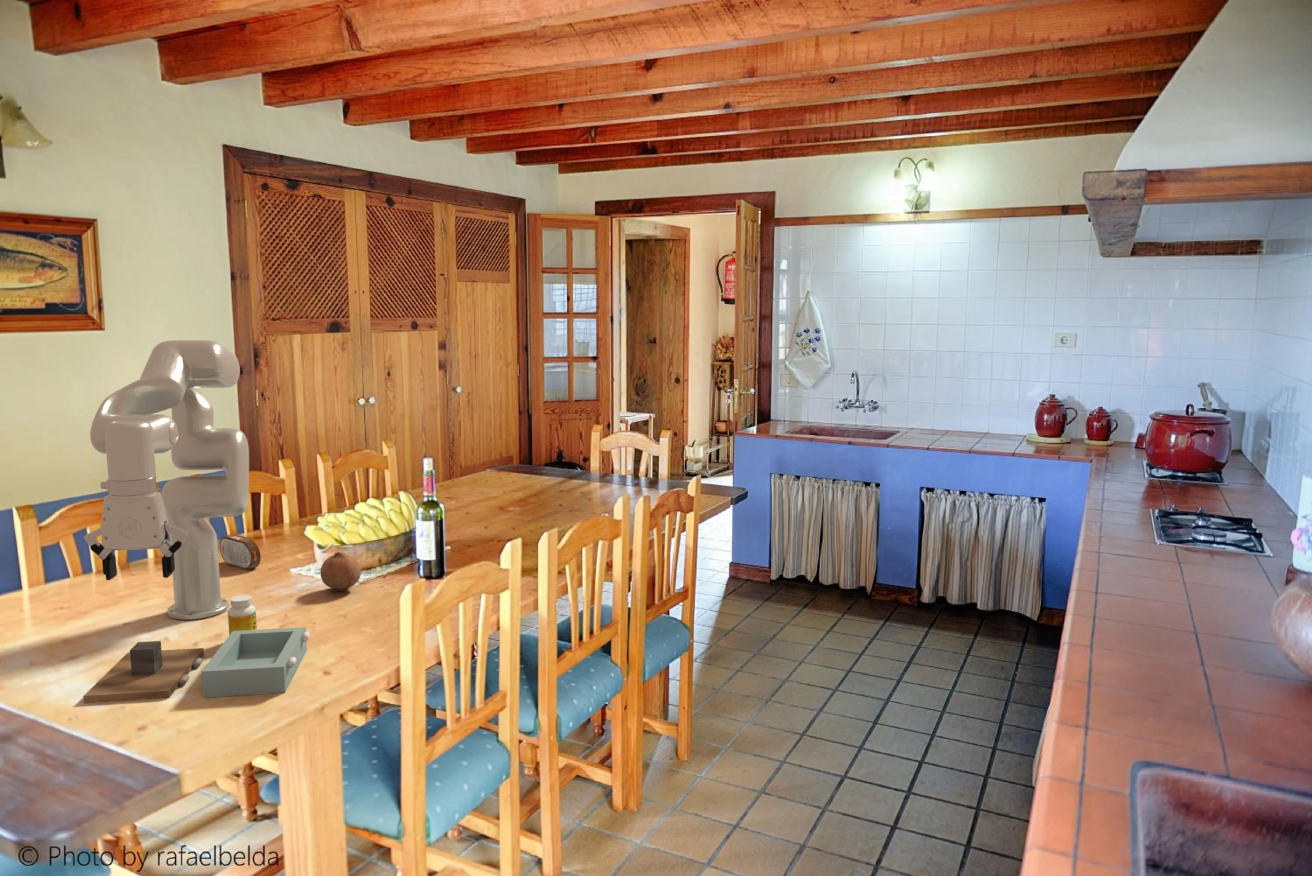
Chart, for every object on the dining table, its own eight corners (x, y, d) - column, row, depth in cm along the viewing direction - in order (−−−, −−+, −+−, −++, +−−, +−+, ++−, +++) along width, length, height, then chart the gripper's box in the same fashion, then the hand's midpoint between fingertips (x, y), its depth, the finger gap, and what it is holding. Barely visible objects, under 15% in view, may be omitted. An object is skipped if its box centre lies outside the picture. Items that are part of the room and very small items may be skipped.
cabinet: (234, 654, 178) (232, 631, 177) (313, 650, 181) (312, 626, 180) (203, 697, 158) (201, 671, 158) (292, 692, 161) (290, 666, 161)
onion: (315, 590, 218) (313, 551, 216) (351, 582, 224) (349, 544, 223) (331, 600, 211) (330, 559, 209) (368, 591, 217) (367, 552, 216)
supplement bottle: (228, 639, 186) (225, 596, 184) (256, 635, 188) (253, 592, 187) (230, 648, 181) (227, 603, 180) (258, 643, 184) (256, 599, 182)
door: (128, 659, 175) (126, 628, 174) (210, 654, 178) (208, 624, 177) (84, 704, 156) (80, 669, 155) (176, 698, 159) (174, 664, 158)
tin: (262, 570, 234) (260, 539, 232) (251, 573, 231) (249, 542, 230) (229, 560, 241) (227, 531, 240) (218, 563, 239) (216, 533, 238)
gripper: (71, 492, 156) (79, 585, 158) (177, 490, 159) (183, 581, 161) (90, 484, 163) (97, 573, 166) (190, 482, 166) (196, 569, 169)
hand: (139, 576), depth 164 cm, fingers open, 9 cm apart
